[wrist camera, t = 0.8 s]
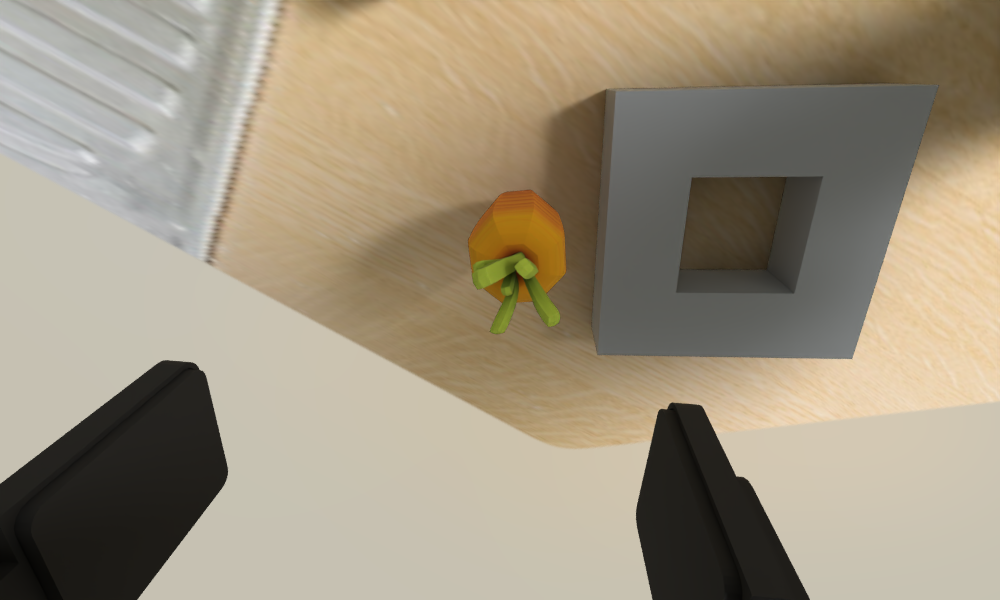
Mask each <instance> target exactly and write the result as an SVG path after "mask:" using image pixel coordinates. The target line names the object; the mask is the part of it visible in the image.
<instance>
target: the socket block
mask: <svg viewBox="0 0 1000 600" xmlns="http://www.w3.org/2000/svg"><path fill="white" fill-rule="evenodd" d="M938 86H939V85H925V84H895V83H877V84H828V85H779V86H730V87H682V88H633V89H606V102H605V118H604V134H603V150H602V166H601V182H600V198H599V214H598V230H597V246H596V262H595V279H594V295H593V311H592V331H593V336H594V341H595V345H596V350H597V355H639V356H700V357H761V358H821V359H852V358H853V354H854V351H855V348H856V345H857V342H858V339H859V336H860V332H861V329H862V326H863V323H864V320H865V317H866V313H867V310H868V307H869V304H870V301H871V298H872V295H873V291H874V288H875V285H876V282H877V279H878V276H879V272H880V269H881V266H882V263H883V260H884V257H885V254H886V250H887V247H888V244H889V241H890V238H891V235H892V231H893V228H894V225H895V222H896V219H897V216H898V213H899V209H900V206H901V203H902V200H903V197H904V194H905V190H906V187H907V184H908V181H909V178H910V175H911V172H912V168H913V165H914V162H915V159H916V156H917V153H918V149H919V146H920V143H921V140H922V137H923V134H924V131H925V127H926V124H927V121H928V118H929V115H930V112H931V108H932V105H933V102H934V99H935V96H936V93H937V90H938ZM692 177H787V178H786V183H785V187H784V192H783V197H782V201H781V206H780V211H779V215H778V220H777V224H776V229H775V234H774V238H773V243H772V248H771V252H770V257H769V262H768V266H767V270H699V269H679V268H680V260H681V253H682V246H683V238H684V231H685V224H686V217H687V209H688V202H689V195H690V188H691V180H692Z"/></svg>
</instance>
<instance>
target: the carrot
mask: <svg viewBox="0 0 1000 600" xmlns="http://www.w3.org/2000/svg"><path fill="white" fill-rule="evenodd" d="M468 247H469V254H470V262H471V269H472V279H473V283H474V285H475V286H476V288H477V290H478V289H482V288H483V289H485V290H486V291H487V292H489V293H490V294H491V295H492V296H494V297H495V298H496V299H498V300H499V301H500V302H501V303H502V305H501V307H500V309H499V311H498V314H497V316H496V318H495V320H494V322H493V324H492V327H491V330H490V332H491V333H494V334H501V333H504V332H505V330H506V328H507V326H508V324H509V322H510V319H511V317H512V314H513V312H514V309H515V306H516V303H517V302H532V301H533V303H534V306H535V308H536V310H537V312H538V314H539V315H540V317H541V318H542V320H543V322H544V323H545V324H546V325H547V326H548V327H551V326H555V325H556V324H558V323H559V321H560V313H559V311H558V310H557V308H556V307H555V305H554V304H553V303H552V301H551V300H550V299H549V297H548V296H547V294H546V293H547V292H548V291H549V290H550V289H551V288H552V287H553V286H554V285H555V284H556V283H557V282H558V281H559V280H560V279H561V278H562V277H563V276H564V275H565V273H566V254H565V234H564V229H563V225H562V222H561V219H560V216H559V214H558V213H557V212H556V211H555V210H554V209H553V208H552V207H551V206H550V205H549V204H547V203H546V202H545V201H544V200H543V199H542V198H540V197H539V196H538V195H537V194H536V193H535V192H533V191H532V190H524V191H513V192H505V193H503V194H501V195H500V196H499V197H498V198H497V199H496V200H495V202H494V203H493V204H492V205H491V206H490V208H489V209H488V210H487V211H486V212H485V214H484V215H483V216H482V217H481V218H480V220H479V221H478V223H477V224H476V226H475V228H474V229H473V231H472V233H471V235H470V237H469V239H468Z"/></svg>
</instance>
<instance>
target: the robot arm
mask: <svg viewBox="0 0 1000 600" xmlns="http://www.w3.org/2000/svg"><path fill="white" fill-rule="evenodd" d="M227 475H228V467H227V463H226V459H225V454H224V450H223V446H222V442H221V437H220V433H219V429H218V425H217V420H216V416H215V412H214V408H213V404H212V399H211V395H210V391H209V386H208V382H207V378H206V375H205V373H204V372H203V371H201V370H199V368H198V366H197V365H196V364H194V363H191V362H181V361H169V360H165V361H161V362H160V363H158V364H156V365H155V366H154V367H152V368H151V369H150V370H148V371H147V372H146V373H144V374H143V375H142V376H141V377H139V378H138V379H137V380H135V381H134V382H133V383H131V384H130V385H129V386H127V387H126V388H125V389H124V390H122V391H121V392H120V393H119V394H117V395H116V396H114V397H113V398H112V399H110V400H109V401H108V402H107V403H105V404H104V405H103V406H101V407H100V408H99V409H97V410H96V411H95V412H94V413H92V414H91V415H90V416H88V417H87V418H86V419H84V420H83V421H82V422H81V423H79V424H78V425H77V426H75V427H74V428H73V429H71V430H70V431H69V432H67V433H66V434H65V435H64V436H62V437H61V438H60V439H58V440H57V441H56V442H54V443H53V444H52V445H50V446H49V447H48V448H46V449H45V450H44V451H43V452H41V453H40V454H39V455H37V456H36V457H35V458H33V459H32V460H31V461H29V462H28V463H27V464H26V465H24V466H23V467H22V468H20V469H19V470H18V471H16V472H15V473H14V474H13V475H11V476H10V477H9V478H7V479H6V480H5V481H4V482H2V483H1V484H0V600H137V599H138V598H139V597H140V595H141V594H142V593H143V591H144V590H145V589H146V587H147V586H148V585H149V583H150V582H151V581H152V579H153V578H154V577H155V575H156V574H157V573H158V572H159V570H160V569H161V568H162V566H163V565H164V563H165V562H166V561H167V560H168V558H169V557H170V556H171V555H172V553H173V552H174V551H175V549H176V548H177V546H178V545H179V544H180V543H181V541H182V540H183V539H184V537H185V536H186V535H187V533H188V532H189V531H190V530H191V528H192V527H193V526H194V524H195V523H196V522H197V520H198V519H199V518H200V516H201V515H202V514H203V512H204V511H205V510H206V508H207V507H208V506H209V505H210V503H211V502H212V501H213V499H214V498H215V497H216V495H217V494H218V493H219V491H220V490H221V489H222V487H223V486H224V484H225V482H226V479H227ZM636 521H637V529H638V533H639V538H640V542H641V548H642V552H643V557H644V561H645V566H646V571H647V576H648V580H649V585H650V590H651V594H652V599H653V600H810V599H809V597H808V595H807V593H806V591H805V589H804V587H803V585H802V583H801V581H800V579H799V577H798V575H797V573H796V571H795V569H794V567H793V565H792V564H791V562H790V560H789V558H788V556H787V554H786V552H785V550H784V548H783V546H782V544H781V542H780V540H779V538H778V536H777V534H776V532H775V530H774V528H773V526H772V524H771V522H770V520H769V518H768V516H767V515H766V513H765V511H764V509H763V507H762V505H761V503H760V501H759V499H758V497H757V495H756V493H755V491H754V489H753V487H752V486H751V484H750V483H749V481H748V480H747V479H745V478H744V477H736V475H735V473H734V471H733V469H732V467H731V465H730V463H729V460H728V458H727V456H726V454H725V452H724V450H723V448H722V446H721V444H720V442H719V440H718V438H717V436H716V434H715V431H714V429H713V427H712V425H711V423H710V421H709V419H708V417H707V415H706V413H705V411H704V409H703V407H702V406H700V405H694V404H682V403H670V405H669V406H668V409H667V410H666V409H660V410H659V412H658V415H657V419H656V424H655V428H654V433H653V437H652V442H651V446H650V451H649V455H648V459H647V464H646V468H645V473H644V477H643V481H642V486H641V490H640V495H639V499H638V503H637V509H636Z"/></svg>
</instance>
